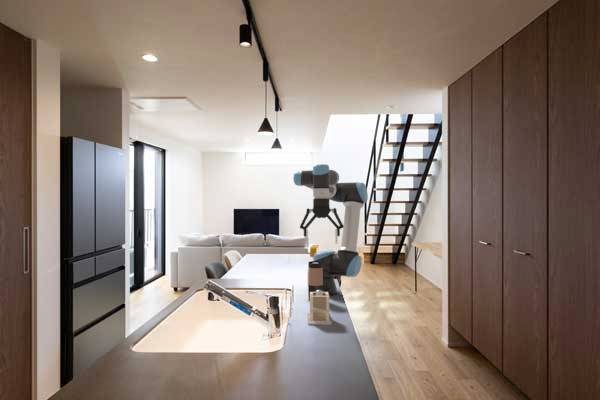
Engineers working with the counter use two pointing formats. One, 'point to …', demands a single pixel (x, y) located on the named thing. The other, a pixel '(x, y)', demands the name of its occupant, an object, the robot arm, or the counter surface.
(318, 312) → the birch sleeve
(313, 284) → the travel mug
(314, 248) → the soap bottle
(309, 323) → the post stand
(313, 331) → the counter surface
